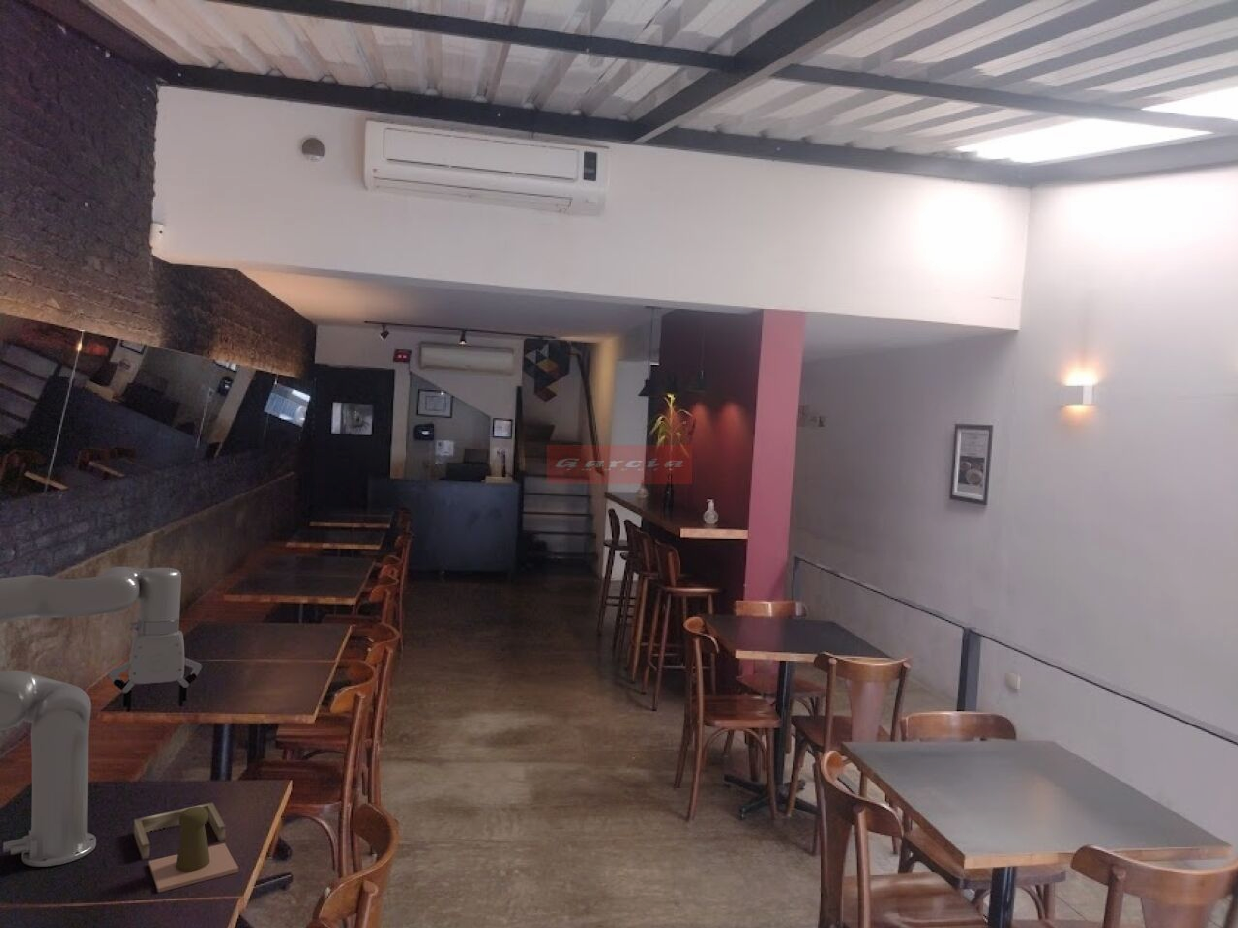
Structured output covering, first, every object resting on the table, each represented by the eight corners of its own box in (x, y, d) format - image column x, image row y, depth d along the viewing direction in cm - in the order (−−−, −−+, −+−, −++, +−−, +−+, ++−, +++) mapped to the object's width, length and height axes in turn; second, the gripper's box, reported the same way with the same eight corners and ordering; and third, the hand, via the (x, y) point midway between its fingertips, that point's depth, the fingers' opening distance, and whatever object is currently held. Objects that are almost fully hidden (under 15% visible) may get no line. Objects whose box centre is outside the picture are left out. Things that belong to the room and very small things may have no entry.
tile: (158, 892, 158) (158, 888, 158) (148, 864, 168) (148, 860, 168) (238, 871, 167) (238, 867, 167) (224, 846, 176) (224, 842, 176)
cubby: (142, 859, 170) (142, 844, 170) (133, 832, 180) (133, 819, 180) (225, 839, 179) (225, 825, 179) (212, 815, 190) (212, 802, 189)
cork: (196, 873, 164) (197, 817, 163) (168, 869, 165) (169, 814, 164) (216, 858, 170) (217, 804, 169) (189, 854, 171) (190, 801, 170)
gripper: (111, 633, 170) (107, 717, 171) (205, 628, 180) (201, 707, 180) (110, 625, 177) (106, 706, 177) (202, 620, 186) (198, 697, 186)
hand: (154, 707), depth 179 cm, fingers open, 9 cm apart
